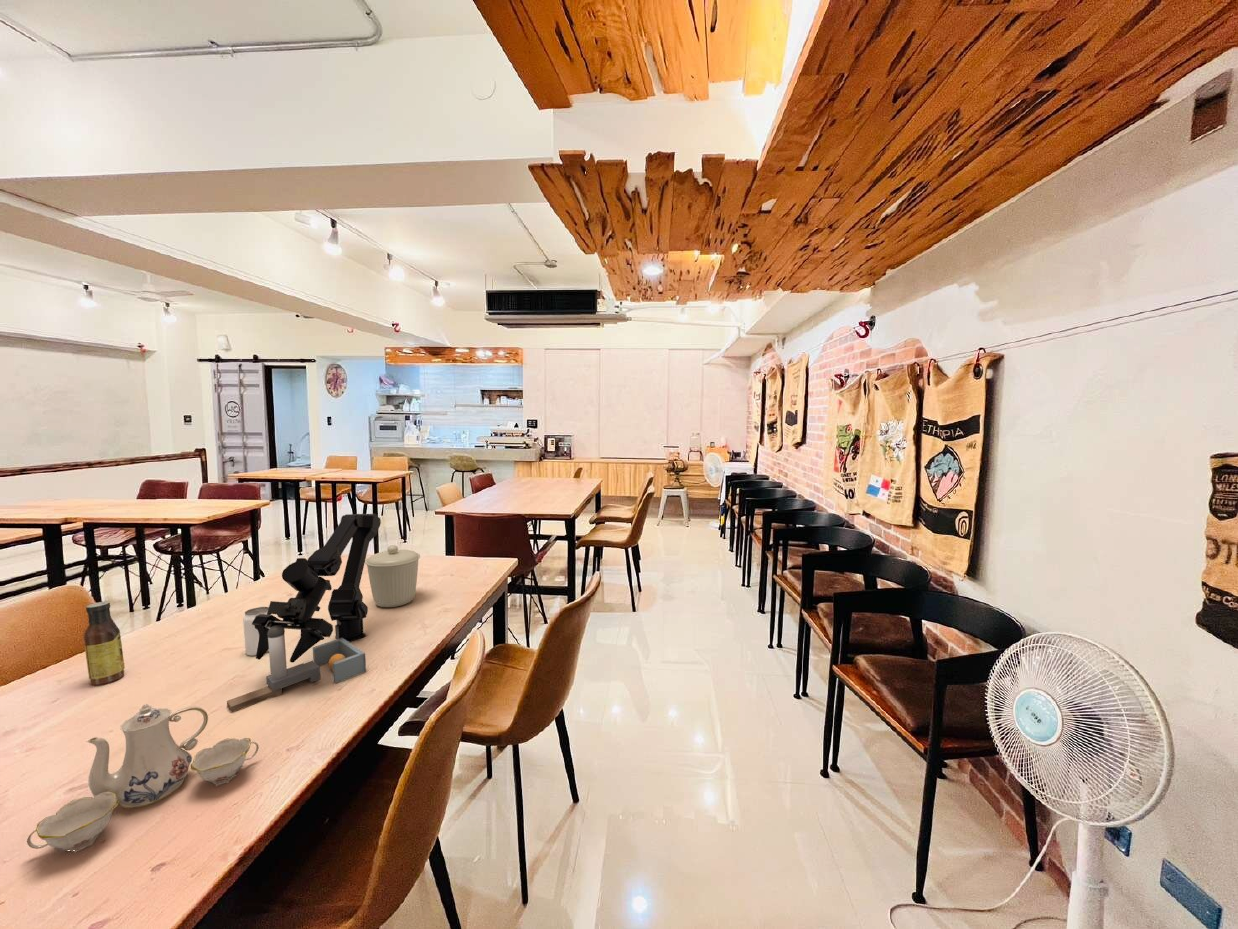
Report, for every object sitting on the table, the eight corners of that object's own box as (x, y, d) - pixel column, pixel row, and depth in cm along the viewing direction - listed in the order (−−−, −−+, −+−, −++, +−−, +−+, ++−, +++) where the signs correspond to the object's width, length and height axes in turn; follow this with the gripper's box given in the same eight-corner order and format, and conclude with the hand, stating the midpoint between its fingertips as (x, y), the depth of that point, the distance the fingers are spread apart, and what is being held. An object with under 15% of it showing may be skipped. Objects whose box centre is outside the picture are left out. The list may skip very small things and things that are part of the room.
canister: (432, 599, 175) (430, 543, 173) (385, 616, 160) (383, 555, 158) (402, 590, 185) (400, 537, 183) (356, 605, 170) (353, 547, 168)
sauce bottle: (131, 675, 123) (123, 601, 121) (98, 688, 117) (89, 610, 115) (115, 671, 125) (108, 598, 123) (82, 683, 119) (74, 607, 117)
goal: (343, 654, 134) (342, 637, 134) (366, 671, 125) (365, 653, 125) (313, 665, 128) (312, 647, 128) (335, 683, 119) (334, 664, 119)
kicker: (312, 672, 124) (309, 613, 122) (320, 679, 121) (316, 618, 119) (266, 689, 116) (262, 626, 115) (273, 696, 113) (269, 631, 112)
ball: (323, 659, 125) (329, 670, 127) (329, 664, 123) (336, 675, 124) (338, 648, 128) (344, 659, 129) (344, 653, 126) (351, 664, 127)
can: (258, 657, 132) (255, 616, 131) (239, 655, 133) (236, 614, 132) (279, 646, 138) (276, 607, 137) (261, 644, 140) (258, 605, 139)
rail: (276, 688, 117) (276, 682, 117) (281, 693, 115) (281, 688, 115) (227, 706, 110) (226, 700, 109) (231, 712, 107) (231, 706, 107)
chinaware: (38, 898, 67) (26, 795, 65) (21, 830, 77) (10, 738, 74) (268, 776, 91) (266, 697, 88) (234, 735, 100) (231, 662, 97)
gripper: (255, 583, 119) (215, 646, 110) (322, 587, 117) (287, 652, 107) (284, 601, 128) (249, 661, 118) (346, 606, 125) (316, 667, 115)
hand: (274, 660), depth 114 cm, fingers open, 9 cm apart
